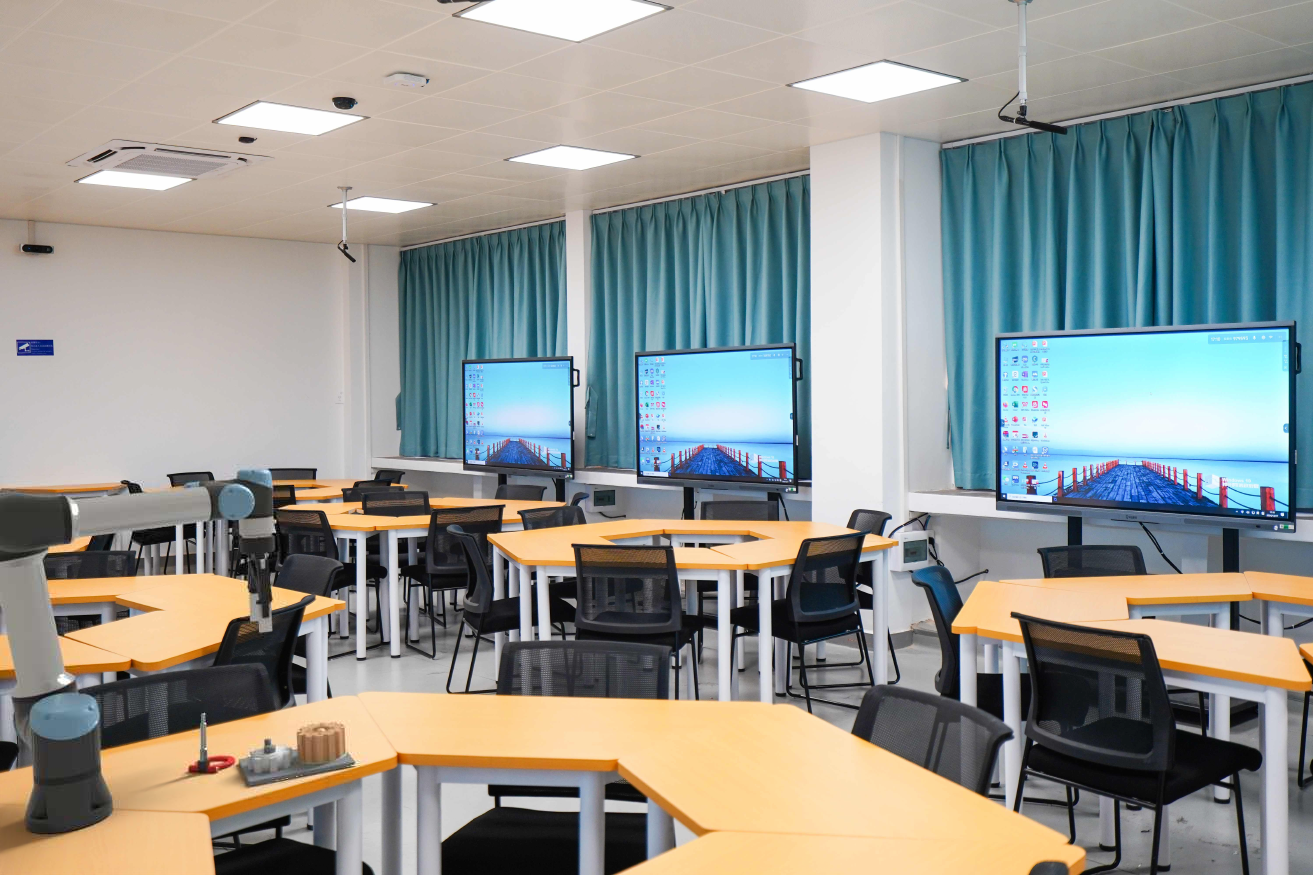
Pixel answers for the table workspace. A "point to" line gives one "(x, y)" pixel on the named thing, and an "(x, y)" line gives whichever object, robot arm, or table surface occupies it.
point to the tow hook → (204, 761)
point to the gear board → (291, 769)
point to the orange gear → (321, 742)
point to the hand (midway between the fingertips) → (261, 626)
